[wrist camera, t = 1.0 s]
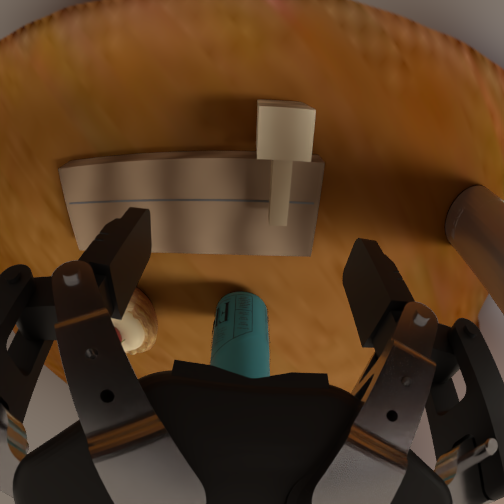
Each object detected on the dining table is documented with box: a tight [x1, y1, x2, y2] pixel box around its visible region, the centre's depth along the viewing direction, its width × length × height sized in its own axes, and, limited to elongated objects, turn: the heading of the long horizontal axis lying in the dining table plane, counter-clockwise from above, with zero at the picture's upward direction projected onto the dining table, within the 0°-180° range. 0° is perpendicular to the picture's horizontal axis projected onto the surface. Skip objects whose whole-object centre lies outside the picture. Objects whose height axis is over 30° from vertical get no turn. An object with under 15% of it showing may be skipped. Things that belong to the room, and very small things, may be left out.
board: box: [58, 151, 325, 256], centre depth 28 cm, size 26×10×2 cm, turn 88°
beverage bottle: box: [210, 292, 271, 378], centre depth 29 cm, size 6×7×20 cm
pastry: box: [111, 287, 158, 355], centre depth 34 cm, size 12×12×9 cm
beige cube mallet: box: [256, 99, 316, 226], centre depth 24 cm, size 4×10×6 cm, turn 178°
